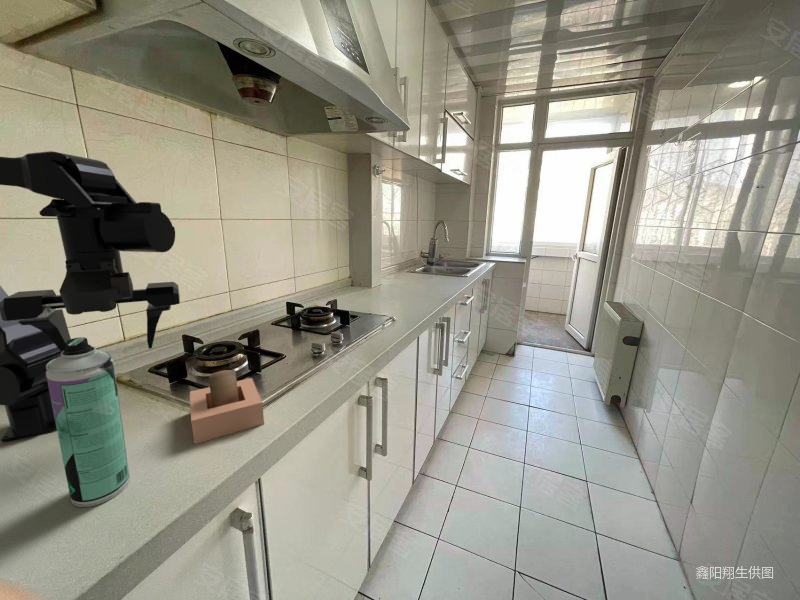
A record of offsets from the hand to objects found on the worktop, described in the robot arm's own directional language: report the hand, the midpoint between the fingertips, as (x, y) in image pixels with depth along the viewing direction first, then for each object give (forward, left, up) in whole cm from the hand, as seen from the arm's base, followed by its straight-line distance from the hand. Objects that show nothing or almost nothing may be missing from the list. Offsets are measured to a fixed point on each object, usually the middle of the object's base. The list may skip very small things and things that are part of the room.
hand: (113, 353), depth 50 cm
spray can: (+14, -1, -13) cm, 19 cm away
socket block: (+5, +14, -13) cm, 20 cm away
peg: (+5, +14, -13) cm, 20 cm away
